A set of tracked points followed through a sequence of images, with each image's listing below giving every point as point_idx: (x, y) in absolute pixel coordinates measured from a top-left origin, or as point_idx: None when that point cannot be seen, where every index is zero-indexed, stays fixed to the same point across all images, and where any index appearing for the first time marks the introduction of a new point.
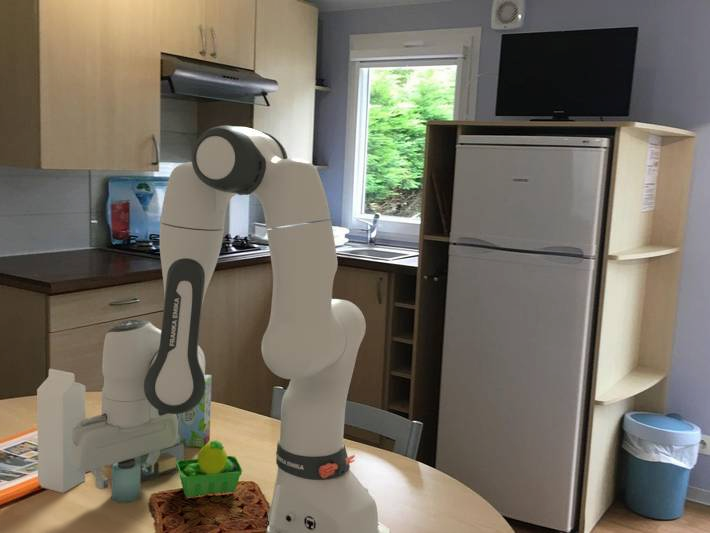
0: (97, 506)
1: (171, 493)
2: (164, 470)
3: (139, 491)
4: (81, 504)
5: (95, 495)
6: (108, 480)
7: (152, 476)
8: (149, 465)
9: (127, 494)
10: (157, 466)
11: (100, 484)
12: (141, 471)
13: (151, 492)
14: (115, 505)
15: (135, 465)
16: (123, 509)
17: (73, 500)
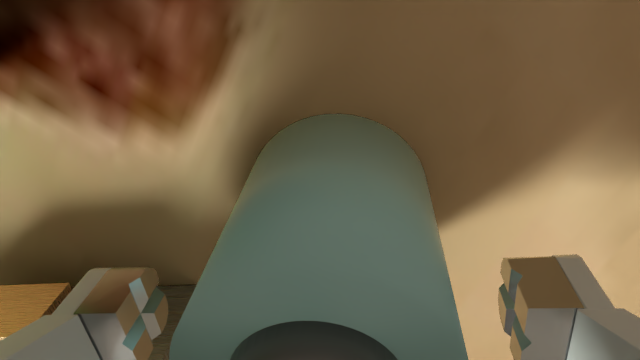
0: (555, 182)
1: (57, 57)
2: (25, 286)
3: (264, 155)
4: (605, 255)
5: (474, 295)
6: (523, 298)
7: None
8: (93, 319)
9: (373, 145)
10: None
11: (596, 290)
12: (164, 336)
13: (179, 149)
14: (459, 127)
15: (233, 340)
16: (451, 38)
17: None
